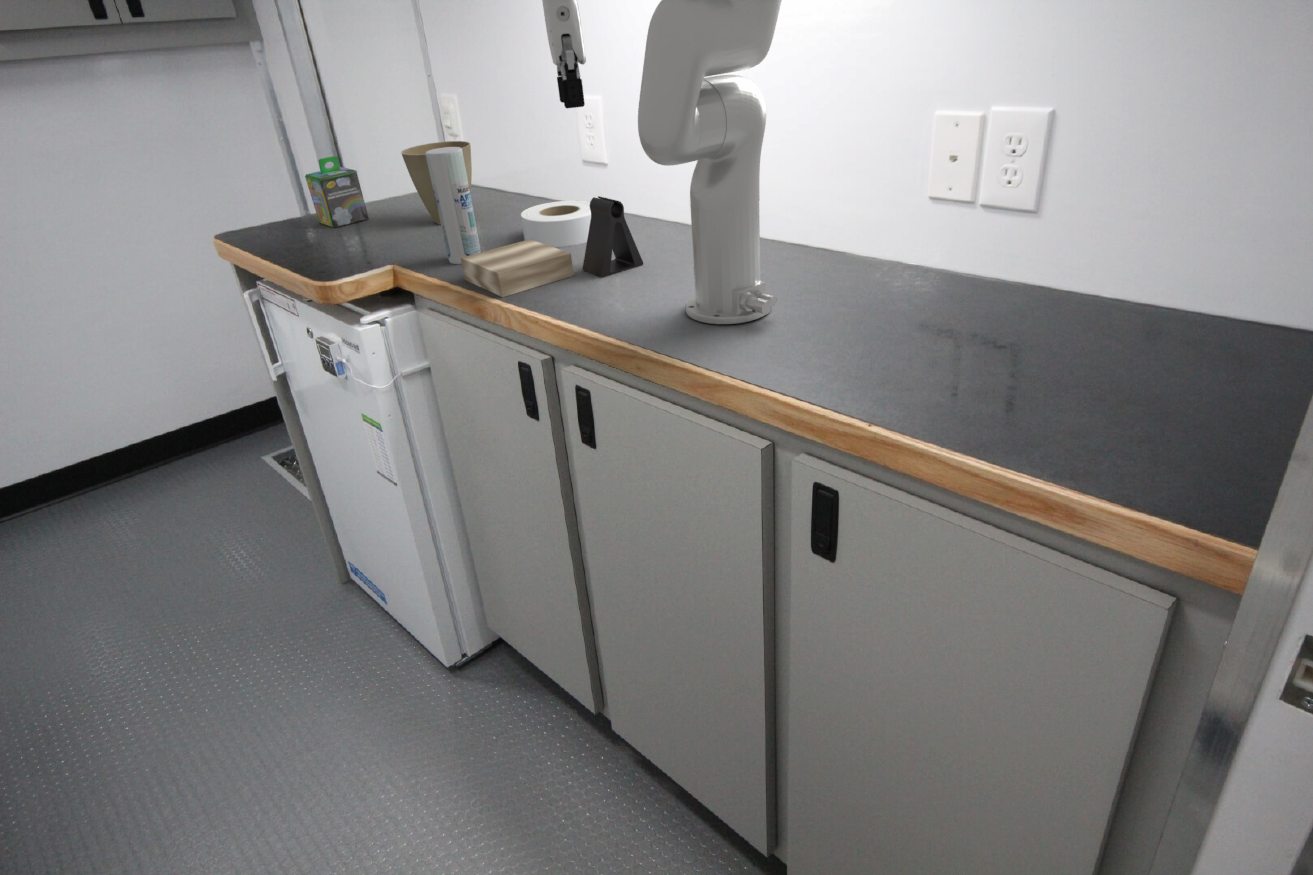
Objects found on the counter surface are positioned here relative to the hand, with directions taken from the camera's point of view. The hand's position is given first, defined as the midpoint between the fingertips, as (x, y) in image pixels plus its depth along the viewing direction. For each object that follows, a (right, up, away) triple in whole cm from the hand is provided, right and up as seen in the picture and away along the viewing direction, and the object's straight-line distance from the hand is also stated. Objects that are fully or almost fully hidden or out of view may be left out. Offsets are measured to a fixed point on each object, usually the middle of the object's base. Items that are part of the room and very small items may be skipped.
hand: (572, 104), depth 130 cm
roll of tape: (-5, -14, +30) cm, 34 cm away
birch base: (-10, -27, +8) cm, 30 cm away
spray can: (-23, -21, +21) cm, 38 cm away
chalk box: (-60, -4, +58) cm, 84 cm away
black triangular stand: (+6, -25, +9) cm, 28 cm away
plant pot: (-33, -6, +50) cm, 60 cm away
